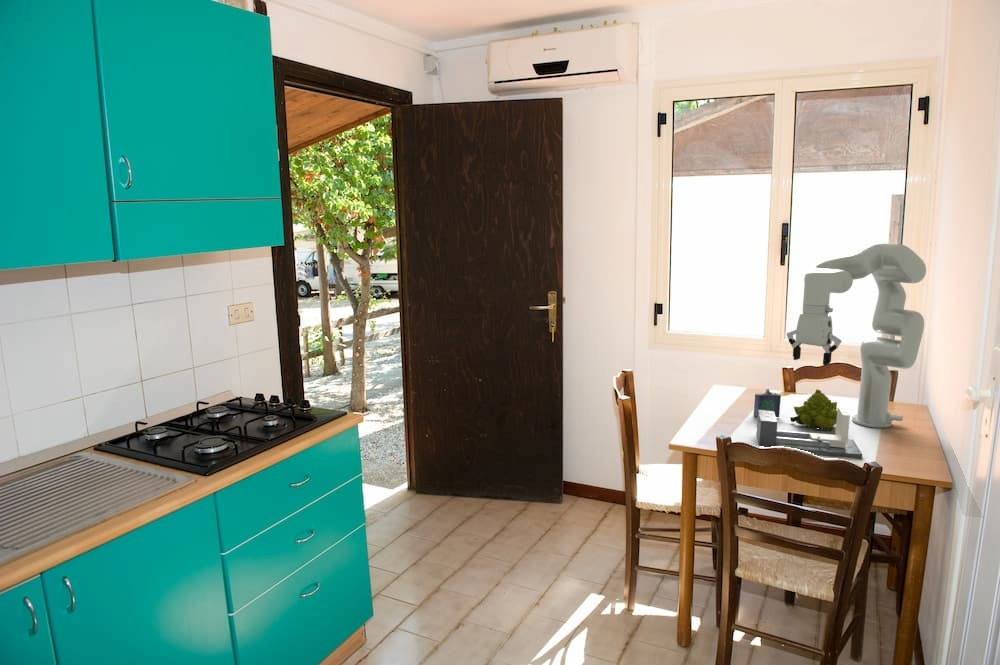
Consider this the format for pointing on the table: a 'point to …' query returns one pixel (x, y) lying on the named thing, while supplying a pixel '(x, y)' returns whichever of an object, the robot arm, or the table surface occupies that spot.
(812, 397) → the vegetable
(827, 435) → the white block
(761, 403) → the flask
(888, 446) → the table surface
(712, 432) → the table surface
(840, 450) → the base
